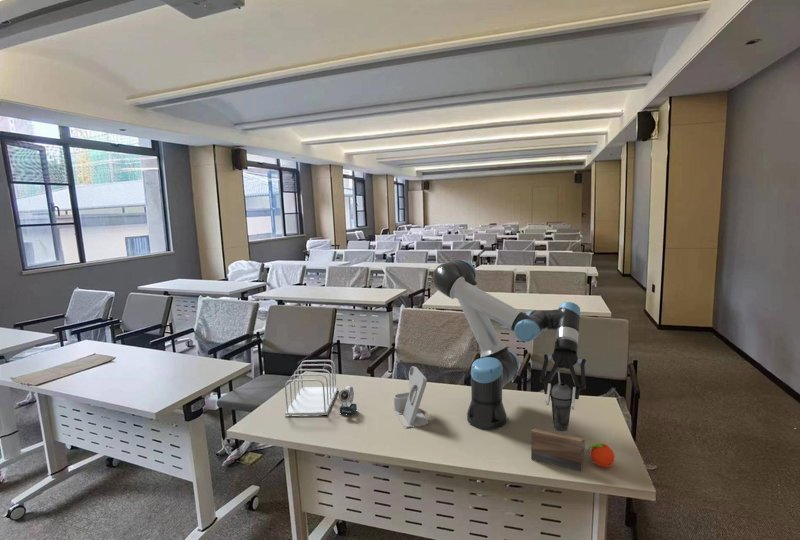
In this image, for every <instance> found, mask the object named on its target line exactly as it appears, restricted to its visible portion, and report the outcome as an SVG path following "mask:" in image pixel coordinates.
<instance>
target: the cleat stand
mask: <svg viewBox="0 0 800 540" xmlns="http://www.w3.org/2000/svg"><path fill="white" fill-rule="evenodd" d="M530 441H531V443H530V444H531V447H530V448H531V449H530V450H531V453H530V454H531V455H530V456H531V457H530V460H531V459H532V460H531V461H534V460H535V462H538V463H544V464H547V465H553V466H557V467H561V468H564V469H568V468H569V469H570V470H573V471H577V472H578V471H579V472H581V471H582V467H583V461H584V454H585V450H586V449H585V444H586V440H584V439H583V437H578V436H574V435H568V434H563V433H559V432H553V431H549V430H544V429H540V428H539V429H538V428H532V429H531V440H530Z"/></svg>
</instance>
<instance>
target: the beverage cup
mask: <svg viewBox="0 0 800 540" xmlns="http://www.w3.org/2000/svg"><path fill="white" fill-rule="evenodd" d="M560 375H561V374H560V370H557V378H558V383H555V384H554V385H553V386H551V393H550V401H551V415H552V426H553V429H554V430H555V431H557V432H560V433H561V432H567V431H568V429H569V425H570V416H571V410H572V407H571V405H572V394H573V389H571V387H570V386H569V385H567V384H565V383H563V382H561V376H560Z"/></svg>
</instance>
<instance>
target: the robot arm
mask: <svg viewBox="0 0 800 540" xmlns="http://www.w3.org/2000/svg"><path fill="white" fill-rule="evenodd" d="M476 278H477V270H476V268H475V267H474V265H473V264H472V263H471V262H469V261H468V260H464V259H456V260H453V261H449V262H444V263H441V264H438V266H436V268H435V269H434V271H433V273H432V282H433V285H434V287H435V288H436V289H437V290H438V291H439V292H440V293H441V294H443V295H444V296H446V297H448V298H450V299H452V300H454V299H456V300H457V301H458V304H459V305H460V307H461V310H462V312H463V314H464V316H465V318H466V321H467V322H468V325H469V327H470V329H471V332H472V333H473V335H474V338H475V340H476V342H477V344H478V347H479V349H480V351H481V353H480V358H477V359H475V360H474V361H473V363H472V364H471V369H470V377H471V378H470V381H471V383H470V384H471V385H470V386H471V392H470V393H471V395H470V396H471V398H470V399H471V400H470V404H469V407H468V409H467V412H466V420H467V422H468V424H470V425H471V426H473V427H475V428H477V429H478V428H479V429H482V430H496V429H500V428H503V427H504V426H506V424H507V422H508V420H507V419H508V418H507V417H508V415H507V412H506V410H505V406H504V403H503V388H504V387H505V386H507V384H508V383H510V382H511V381H513V380H514V379H515V377H516V376H517V375H518V373H519V370H520V361H519V358H518V357H517V355H516V354H515V353H513V352H512V351H510V350H509V349H508V347H507V345H506V344H504V343H502V342H501V341H500V338H499V336H498V334H497V332H496V330H495V328H494V325H493V323H492V321H491V319H492V320H493V321H495V322H497V323H499V324H500V325H502V326H504V327H505V328H507V329H509V330H511V331H513V332H514V334H515V337H516V338H517V339H518V340H520V341H521V342H525V343H526V342H528V343H529V342H531V341H533V340H535V339H536V338H538V337H539V336H540V335H541V334H543V333H544V332H545V331H555V340H554V341H555V342H554V348H553V352H552V354H550V355H548V353H547V354H543V358H544V359H543V364H542V369H541V372H540V375H539V382H540V384H543V385H544V388H543V394H544V395H546V399H545V404H546V406H550V401H551V396H550V393H551V389H552V384H551V382H552V381H553V379H554V377H555V375H556V374H557V373H558V371H559V370H560V369H566V370H569V372H570V373H569V374H570V375H571V379H572V381H573V385H574V386H573V387H572V393H573V394H572V404H571V410H575V407H576V406H575V405H576V400H579V399H580V391H581V390H586V388H587V385H586V370H585V368H586V366H587V359H585V358H583V359H581V358H579V357H578V346H579V345H578V343H579V334H580V326H581V325H580V323H581V307H580V306H579V305H578V304H577V303H574V302H571V301H564V302H562V303H560V304H559V307H558V309H546V310H536V309H535V310H529V311H526V312H525V313H524V312H523V311H521V310H520V309H517V308H515V307H514V306H512V305H510V304H508V303H506V302H504V301H502V300H501V299H499V298H497V297H496V296H493V295H491V294H489V293H487V292H486V291H484V290H482V289H480V288H478V283H477V280H476ZM552 360H553V361H554V362H553V363H554V364H553V366H552V367H551V369H550V372H548V375H547V371H548V367H549V363H550V362H551V361H552ZM577 363H578V366H579V367H580V378H581V382H580V383H579V380H578V377H577V374H576V371H575V369H574V366H575V365H576V364H577ZM546 376H547V377H546Z"/></svg>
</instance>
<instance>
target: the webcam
mask: <svg viewBox="0 0 800 540" xmlns="http://www.w3.org/2000/svg"><path fill="white" fill-rule="evenodd" d="M354 397H355V391H354V387H353V386H349V385H345V386H344V387H343V388H342V389H341V390H340V392H339V393H338V398H339V401H340V403H341V405H340V406H339V414H340V413H341V414H347V415H346V416H349V415H353V414H354V413H355V412H356V413H357V411H358V409H357V405H358V404H357V403H353V401H354ZM356 410H357V411H356ZM356 413H355V414H356ZM341 414H340V415H341ZM355 414H354V415H355ZM354 415H353V416H354Z"/></svg>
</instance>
